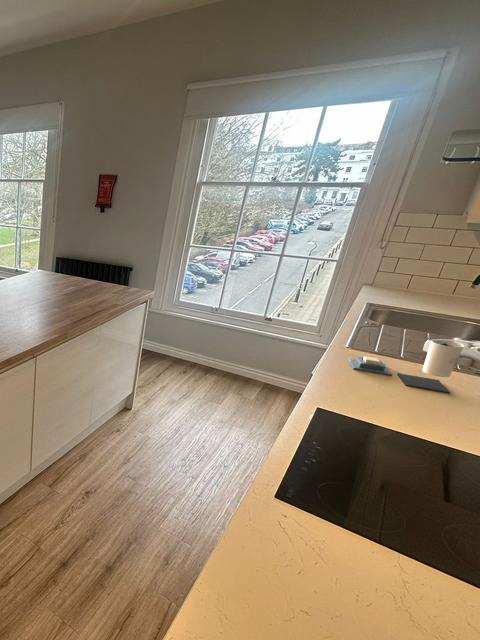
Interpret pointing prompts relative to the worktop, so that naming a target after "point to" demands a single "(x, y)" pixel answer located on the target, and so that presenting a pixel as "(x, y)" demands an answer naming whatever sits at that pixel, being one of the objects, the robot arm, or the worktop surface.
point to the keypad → (369, 367)
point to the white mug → (441, 357)
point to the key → (371, 360)
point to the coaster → (423, 383)
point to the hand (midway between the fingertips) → (441, 357)
